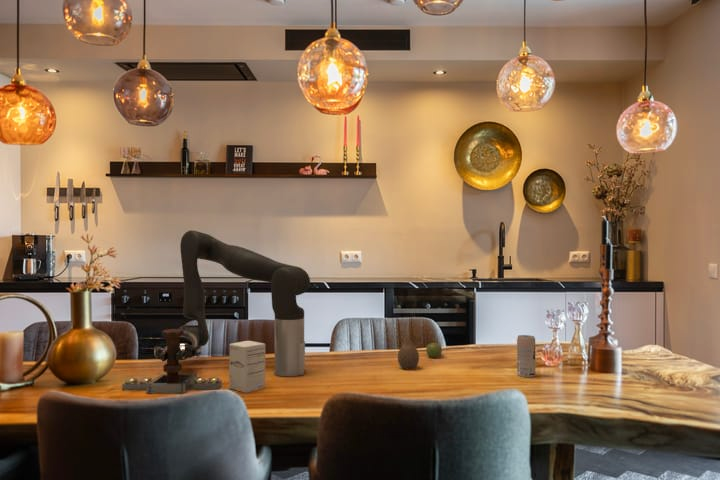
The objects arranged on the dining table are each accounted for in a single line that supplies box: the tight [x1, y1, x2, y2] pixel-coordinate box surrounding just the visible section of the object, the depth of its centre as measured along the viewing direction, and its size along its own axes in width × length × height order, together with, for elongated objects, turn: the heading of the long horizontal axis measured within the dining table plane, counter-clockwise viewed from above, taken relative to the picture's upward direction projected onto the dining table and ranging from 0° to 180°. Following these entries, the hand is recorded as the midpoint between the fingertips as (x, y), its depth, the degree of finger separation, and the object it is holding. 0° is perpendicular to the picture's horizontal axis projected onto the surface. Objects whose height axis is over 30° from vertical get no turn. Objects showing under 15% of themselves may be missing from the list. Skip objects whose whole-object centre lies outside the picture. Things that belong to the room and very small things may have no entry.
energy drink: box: [516, 334, 536, 379], centre depth 163 cm, size 5×5×12 cm
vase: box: [397, 340, 420, 370], centre depth 173 cm, size 7×7×9 cm
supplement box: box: [228, 340, 266, 394], centre depth 148 cm, size 7×7×13 cm
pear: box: [425, 342, 443, 359], centre depth 192 cm, size 6×5×10 cm
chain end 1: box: [121, 373, 184, 395], centre depth 149 cm, size 18×11×3 cm, turn 92°
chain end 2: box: [162, 373, 223, 394], centre depth 149 cm, size 18×11×3 cm, turn 92°
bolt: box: [161, 328, 184, 383], centre depth 149 cm, size 6×5×15 cm
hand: (170, 357), depth 146 cm, fingers closed on bolt, 3 cm apart
